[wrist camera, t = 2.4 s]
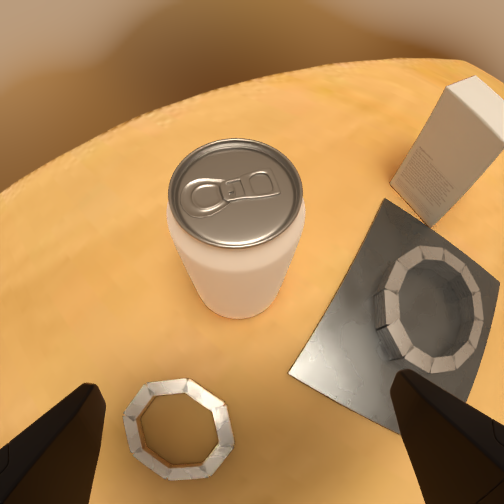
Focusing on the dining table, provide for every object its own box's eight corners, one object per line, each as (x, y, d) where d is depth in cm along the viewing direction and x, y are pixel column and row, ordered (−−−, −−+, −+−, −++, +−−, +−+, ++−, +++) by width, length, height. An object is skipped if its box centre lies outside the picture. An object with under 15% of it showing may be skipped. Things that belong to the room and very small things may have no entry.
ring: (195, 492, 16) (193, 497, 16) (112, 432, 18) (107, 434, 17) (252, 419, 19) (253, 421, 18) (165, 359, 21) (162, 358, 20)
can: (188, 252, 24) (151, 149, 13) (265, 232, 25) (282, 122, 14) (207, 330, 22) (171, 278, 11) (291, 307, 23) (337, 235, 12)
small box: (424, 156, 30) (475, 73, 18) (461, 195, 28) (525, 121, 16) (386, 183, 28) (445, 84, 16) (429, 230, 26) (509, 145, 14)
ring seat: (439, 452, 17) (455, 456, 15) (287, 373, 20) (292, 372, 18) (497, 283, 24) (512, 276, 21) (383, 200, 27) (392, 185, 25)
